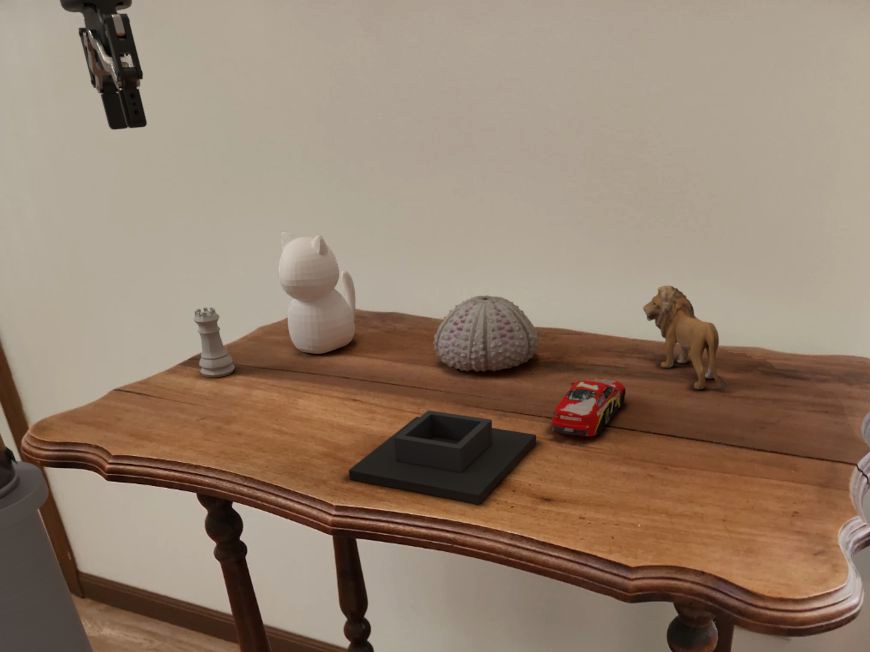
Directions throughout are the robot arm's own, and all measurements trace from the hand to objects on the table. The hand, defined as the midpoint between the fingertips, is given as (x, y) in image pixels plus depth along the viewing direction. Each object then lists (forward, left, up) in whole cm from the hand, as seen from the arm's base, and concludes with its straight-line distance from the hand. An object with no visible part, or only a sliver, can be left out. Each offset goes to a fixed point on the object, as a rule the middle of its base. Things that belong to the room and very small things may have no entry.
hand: (128, 128), depth 96 cm
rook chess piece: (-3, -9, -28) cm, 29 cm away
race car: (-1, -59, -28) cm, 65 cm away
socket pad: (-16, -49, -28) cm, 58 cm away
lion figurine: (+16, -65, -28) cm, 72 cm away
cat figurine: (+11, -17, -28) cm, 34 cm away
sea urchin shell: (+12, -41, -28) cm, 51 cm away
